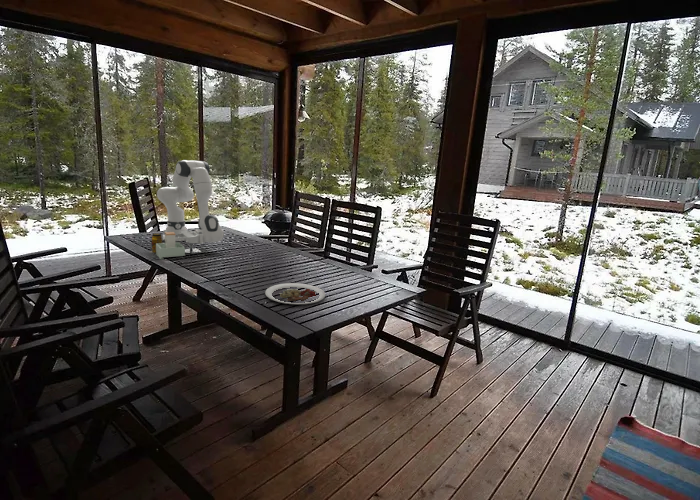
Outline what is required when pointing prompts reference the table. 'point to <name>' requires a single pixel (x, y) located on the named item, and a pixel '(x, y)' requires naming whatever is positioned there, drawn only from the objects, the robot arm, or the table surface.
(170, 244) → the white tall cylinder
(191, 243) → the stud base
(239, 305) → the table surface
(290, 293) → the plated food
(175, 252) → the bin
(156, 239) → the condiment
